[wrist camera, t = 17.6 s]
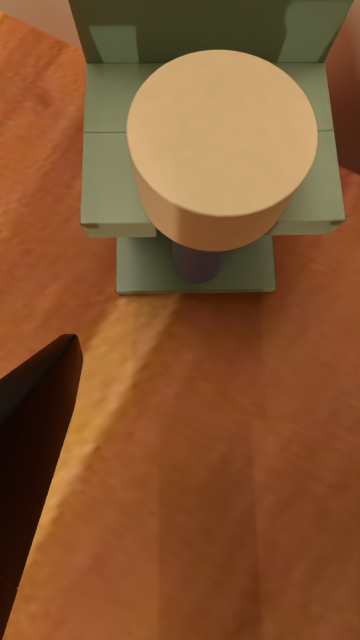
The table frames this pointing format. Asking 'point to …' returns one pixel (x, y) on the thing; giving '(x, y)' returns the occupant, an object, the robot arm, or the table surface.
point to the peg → (218, 153)
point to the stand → (134, 69)
